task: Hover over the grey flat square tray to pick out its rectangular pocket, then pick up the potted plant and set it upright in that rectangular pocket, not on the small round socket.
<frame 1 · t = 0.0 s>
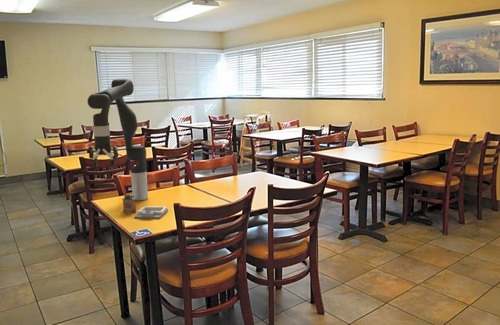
hand: (104, 166, 215), 29 cm above the table, tool pointing down, fingers open, 8 cm apart
grey flat square tray: (151, 214, 232), on the table
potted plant: (129, 212, 237), on the table
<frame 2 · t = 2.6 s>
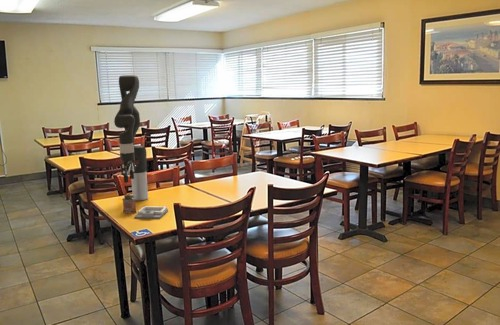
hand: (129, 180, 234), 18 cm above the table, tool pointing down, fingers open, 8 cm apart
nothing on the table moved.
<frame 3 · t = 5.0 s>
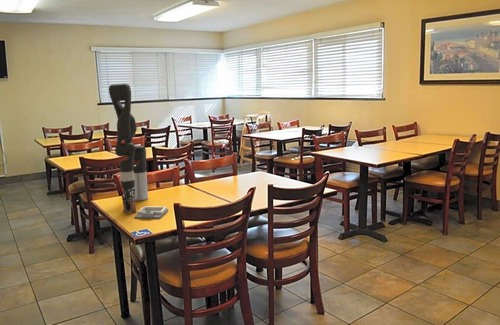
hand: (129, 209, 237), 2 cm above the table, tool pointing down, fingers closed on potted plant, 3 cm apart
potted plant: (129, 212, 237), on the table, touching gripper
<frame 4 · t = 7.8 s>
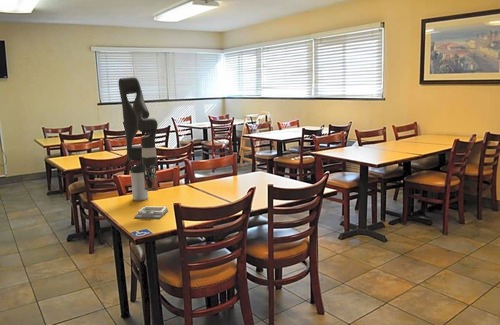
hand: (151, 186, 231), 15 cm above the table, tool pointing down, fingers closed on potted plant, 3 cm apart
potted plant: (151, 190, 232), point 13 cm above the table, touching gripper
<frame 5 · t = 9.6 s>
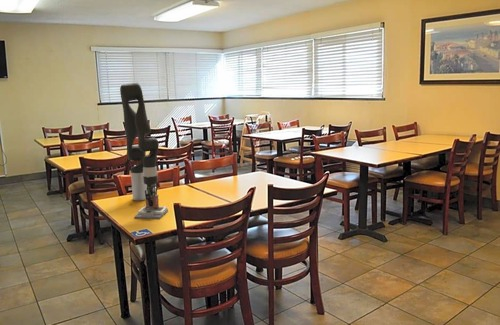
hand: (152, 205, 233), 5 cm above the table, tool pointing down, fingers closed on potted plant, 3 cm apart
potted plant: (152, 208, 233), point 3 cm above the table, touching gripper
when the fingers open (4 cm above the table, at t = 10.6 s): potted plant stays where it is, resting on grey flat square tray.
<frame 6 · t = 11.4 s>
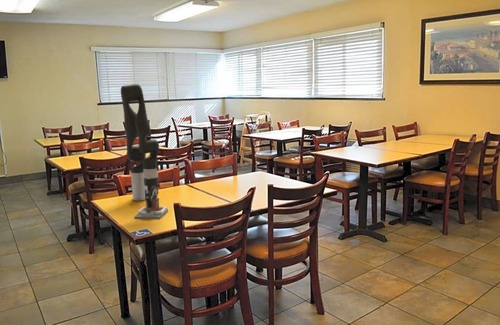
hand: (152, 205, 233), 5 cm above the table, tool pointing down, fingers open, 8 cm apart
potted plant: (152, 211, 234), point 1 cm above the table, touching grey flat square tray
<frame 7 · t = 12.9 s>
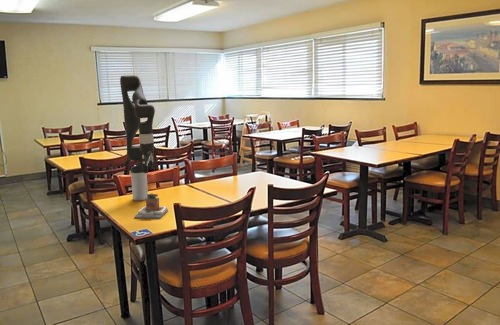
hand: (148, 171, 233), 23 cm above the table, tool pointing down, fingers open, 8 cm apart
nothing on the table moved.
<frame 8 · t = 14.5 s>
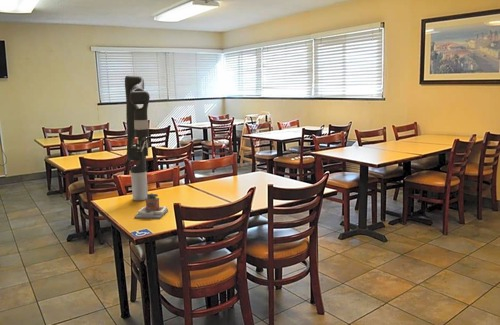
hand: (143, 157, 235), 30 cm above the table, tool pointing down, fingers open, 8 cm apart
nothing on the table moved.
at the end: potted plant 0.7 cm from the target spot on the grey flat square tray, point 0.8 cm above the grey flat square tray's base; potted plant tilted 0°; the gripper is holding nothing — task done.
